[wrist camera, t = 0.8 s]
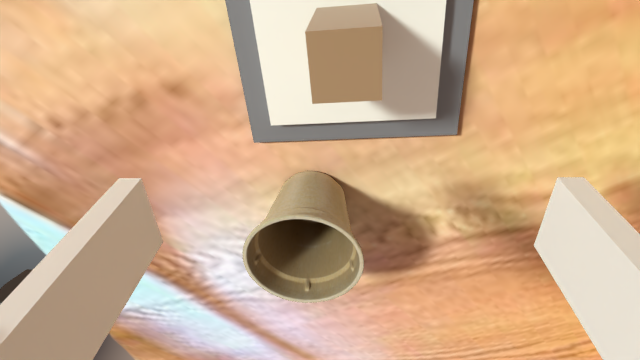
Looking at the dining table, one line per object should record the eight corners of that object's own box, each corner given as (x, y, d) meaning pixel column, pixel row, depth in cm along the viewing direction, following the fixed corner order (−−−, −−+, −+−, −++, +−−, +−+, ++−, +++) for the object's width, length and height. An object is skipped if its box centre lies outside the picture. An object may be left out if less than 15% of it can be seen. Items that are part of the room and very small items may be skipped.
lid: (450, -87, 23) (488, -92, 16) (433, 113, 30) (455, 165, 24) (242, -65, 25) (200, -62, 18) (273, 120, 32) (251, 171, 25)
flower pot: (376, 220, 37) (380, 289, 30) (291, 244, 40) (276, 313, 33) (340, 141, 33) (335, 200, 26) (247, 173, 36) (219, 236, 28)
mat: (487, -131, 22) (490, -133, 22) (455, 131, 32) (456, 134, 31) (208, -100, 24) (205, -100, 24) (255, 139, 33) (254, 142, 33)
